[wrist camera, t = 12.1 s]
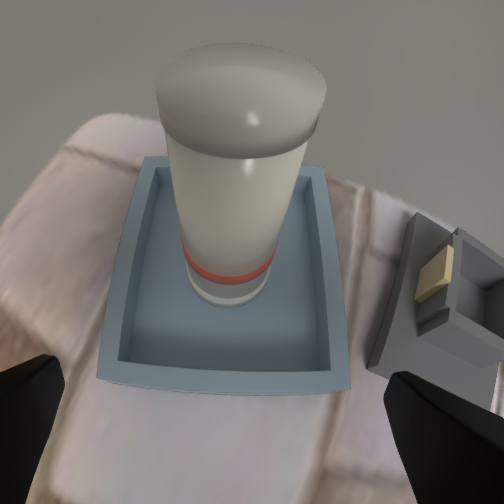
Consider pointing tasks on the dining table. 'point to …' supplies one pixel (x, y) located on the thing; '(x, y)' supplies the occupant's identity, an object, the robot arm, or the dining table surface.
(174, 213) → the tray
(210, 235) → the cylinder
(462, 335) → the fuse holder
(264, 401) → the dining table surface
